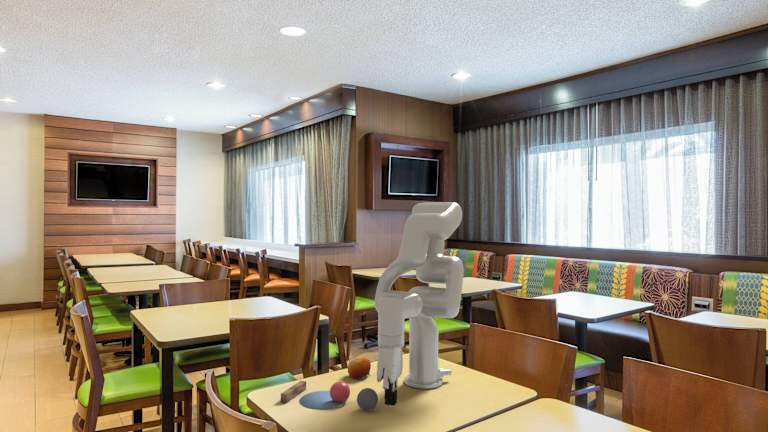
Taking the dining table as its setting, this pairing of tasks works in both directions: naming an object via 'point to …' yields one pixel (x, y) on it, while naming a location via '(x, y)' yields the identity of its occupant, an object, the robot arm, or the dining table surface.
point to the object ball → (339, 392)
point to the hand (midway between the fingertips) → (390, 404)
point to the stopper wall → (293, 391)
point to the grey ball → (367, 399)
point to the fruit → (359, 367)
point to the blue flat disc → (319, 400)
